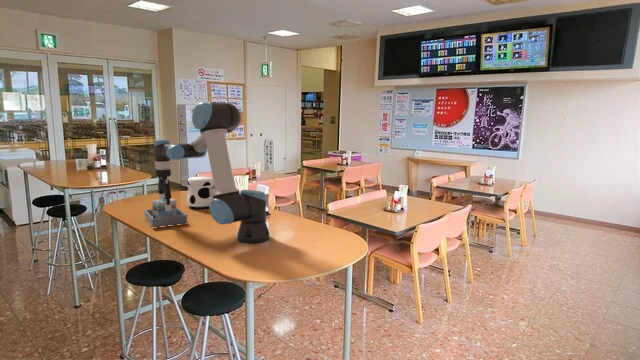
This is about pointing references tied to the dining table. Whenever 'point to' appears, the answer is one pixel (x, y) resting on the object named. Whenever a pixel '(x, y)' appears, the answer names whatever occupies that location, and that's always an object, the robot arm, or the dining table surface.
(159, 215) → the light bulb box
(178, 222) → the grey bin
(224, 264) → the dining table surface
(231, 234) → the dining table surface
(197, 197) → the milk container
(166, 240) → the dining table surface
